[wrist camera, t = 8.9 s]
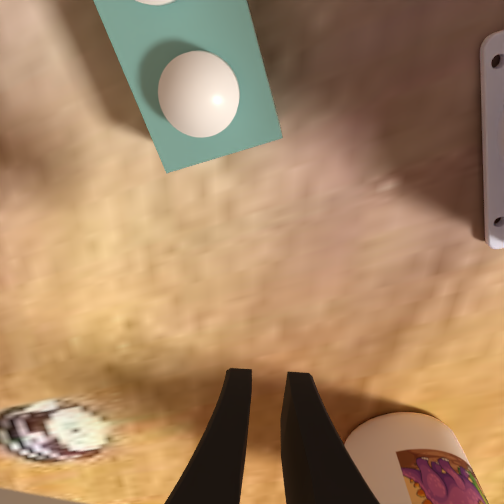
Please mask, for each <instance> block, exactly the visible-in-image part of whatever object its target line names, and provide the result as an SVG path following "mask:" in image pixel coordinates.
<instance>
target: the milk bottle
mask: <svg viewBox="0 0 504 504" xmlns="http://www.w3.org/2000/svg"><path fill="white" fill-rule="evenodd" d="M344 446H345V448H346V450H347V451H348V453H349V455H350V457H351V458H352V460H353V462H354V463H355V465H356V467H357V468H358V470H359V472H360V473H361V475H362V477H363V478H364V480H365V482H366V483H367V485H368V486H369V488H370V489H371V491H372V492H373V494H374V496H375V497H376V499H377V500H378V501H379V503H380V504H489V503H488V501H487V499H486V497H485V495H484V493H483V491H482V488H481V486H480V484H479V482H478V480H477V478H476V476H475V474H474V472H473V470H472V468H471V466H470V464H469V462H468V459H467V457H466V455H465V453H464V451H463V449H462V447H461V445H460V443H459V442H458V440H457V438H456V436H455V434H454V433H453V431H452V430H451V429H450V428H449V427H447V426H446V425H445V424H444V423H443V422H441V421H440V420H438V419H436V418H434V417H432V416H429V415H426V414H423V413H415V412H396V413H388V414H385V415H381V416H377V417H375V418H373V419H370V420H368V421H366V422H364V423H363V424H361V425H359V426H358V427H357V428H356V429H355V430H353V431H352V432H351V434H350V435H349V436H348V437H347V440H346V442H345V444H344Z"/></svg>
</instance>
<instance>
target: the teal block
mask: <svg viewBox="0 0 504 504" xmlns="http://www.w3.org/2000/svg"><path fill="white" fill-rule="evenodd" d="M93 1H94V3H95V5H96V8H97V10H98V13H99V15H100V17H101V20H102V22H103V24H104V27H105V29H106V31H107V34H108V36H109V39H110V41H111V43H112V46H113V48H114V50H115V53H116V55H117V57H118V60H119V62H120V65H121V67H122V69H123V72H124V74H125V76H126V79H127V81H128V83H129V86H130V88H131V90H132V93H133V95H134V98H135V100H136V102H137V105H138V107H139V109H140V112H141V114H142V116H143V119H144V121H145V124H146V126H147V128H148V131H149V133H150V135H151V138H152V140H153V142H154V145H155V147H156V150H157V152H158V154H159V157H160V159H161V161H162V164H163V166H164V168H165V171H166V173H169V172H173V171H176V170H179V169H182V168H186V167H189V166H192V165H196V164H199V163H202V162H205V161H209V160H212V159H215V158H219V157H222V156H225V155H229V154H232V153H235V152H238V151H242V150H245V149H248V148H252V147H255V146H258V145H261V144H265V143H268V142H271V141H275V140H278V139H281V138H283V136H282V132H281V127H280V123H279V118H278V115H277V111H276V107H275V103H274V100H273V96H272V92H271V88H270V85H269V81H268V77H267V73H266V69H265V66H264V62H263V58H262V54H261V51H260V47H259V43H258V39H257V35H256V32H255V28H254V24H253V20H252V17H251V13H250V9H249V5H248V2H247V0H93Z"/></svg>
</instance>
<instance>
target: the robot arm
mask: <svg viewBox="0 0 504 504" xmlns="http://www.w3.org/2000/svg"><path fill="white" fill-rule="evenodd" d="M498 54H499V55H500V58H501V59H500V63H499V64H498V65H497V66H496V67H494V68H493V67H492V65H491V62H492V59H493V58H494V57H495V56H496V55H498ZM480 69H481V106H482V144H483V181H484V218H485V241H486V243H487V244H488V245H489V246H490V247H491V248H493V249H501V248H504V30H501V31H498V32H494V33H492V34H490V35H488V36H487V37H486V38H485V39H484V41H483V43H482V45H481V48H480ZM499 217H501V220H500V221H499V222H498V223H495V224H494V221H495V220H496V219H497V218H499ZM251 392H252V369H236V368H230V369H229V370H227V371H226V376H225V381H224V384H223V388H222V391H221V394H220V397H219V399H218V402H217V404H216V407H215V410H214V412H213V414H212V416H211V419H210V421H209V423H208V425H207V428H206V430H205V432H204V434H203V436H202V438H201V440H200V442H199V444H198V446H197V448H196V450H195V452H194V454H193V456H192V457H191V459H190V461H189V463H188V465H187V467H186V469H185V470H184V472H183V474H182V476H181V477H180V479H179V481H178V482H177V484H176V486H175V487H174V489H173V491H172V492H171V494H170V496H169V497H168V499H167V500H166V502H165V503H164V504H239V503H240V495H241V487H242V479H243V472H244V464H245V456H246V446H247V435H248V425H249V414H250V403H251ZM281 459H282V469H283V478H284V487H285V495H286V504H380V503H379V501H378V500H377V499H376V497H375V496H374V494H373V492H372V491H371V489H370V488H369V486H368V485H367V483H366V482H365V480H364V478H363V477H362V475H361V473H360V472H359V470H358V468H357V467H356V465H355V463H354V462H353V460H352V458H351V457H350V455H349V453H348V451H347V450H346V448H345V446H344V444H343V442H342V440H341V438H340V436H339V435H338V433H337V431H336V429H335V427H334V425H333V423H332V421H331V419H330V417H329V415H328V413H327V411H326V409H325V406H324V404H323V402H322V400H321V398H320V395H319V393H318V391H317V388H316V386H315V383H314V380H313V377H312V376H311V375H310V374H309V373H300V372H288V374H287V380H286V387H285V393H284V400H283V406H282V413H281Z"/></svg>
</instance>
